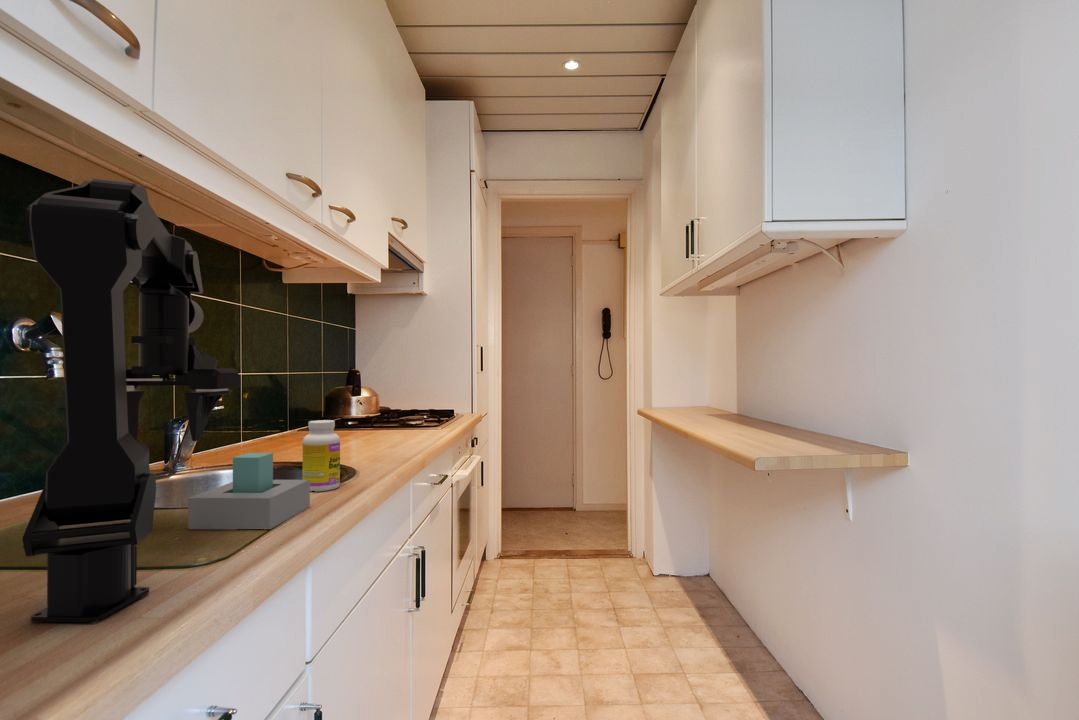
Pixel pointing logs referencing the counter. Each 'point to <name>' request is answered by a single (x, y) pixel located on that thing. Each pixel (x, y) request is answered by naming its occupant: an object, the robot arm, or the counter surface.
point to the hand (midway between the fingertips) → (164, 440)
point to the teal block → (253, 473)
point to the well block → (248, 506)
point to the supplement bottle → (321, 456)
